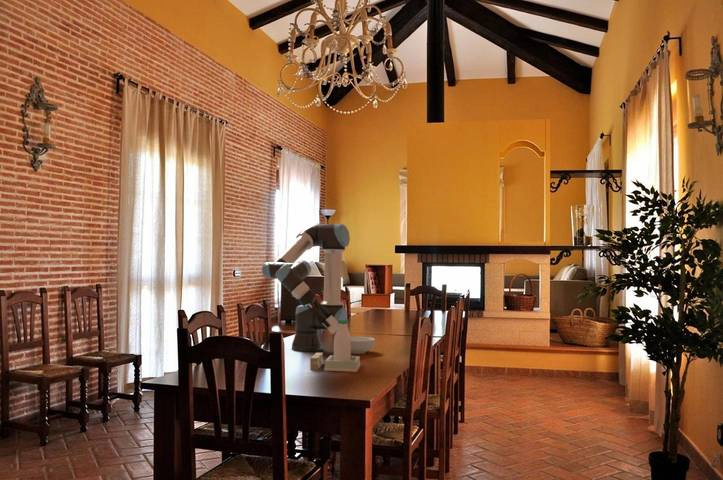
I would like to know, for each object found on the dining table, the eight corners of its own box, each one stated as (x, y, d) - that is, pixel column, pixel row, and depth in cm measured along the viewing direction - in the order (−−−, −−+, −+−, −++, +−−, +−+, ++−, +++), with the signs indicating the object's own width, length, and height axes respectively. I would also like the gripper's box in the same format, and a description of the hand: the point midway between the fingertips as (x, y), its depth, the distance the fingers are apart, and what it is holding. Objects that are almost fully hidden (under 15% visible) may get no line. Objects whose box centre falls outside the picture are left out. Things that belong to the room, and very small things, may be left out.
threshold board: (316, 363, 270) (316, 352, 270) (322, 363, 270) (323, 352, 270) (310, 369, 256) (310, 358, 256) (317, 370, 256) (317, 358, 256)
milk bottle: (349, 367, 257) (349, 320, 257) (331, 366, 259) (332, 320, 259) (352, 364, 265) (353, 318, 265) (335, 363, 266) (336, 318, 267)
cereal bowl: (375, 350, 309) (376, 336, 309) (373, 356, 292) (373, 341, 292) (343, 349, 310) (343, 335, 310) (338, 354, 294) (338, 340, 294)
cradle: (329, 364, 269) (329, 355, 269) (360, 365, 268) (360, 356, 268) (324, 370, 255) (324, 360, 255) (356, 371, 254) (356, 362, 254)
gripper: (303, 297, 276) (334, 331, 274) (291, 303, 251) (326, 340, 249) (314, 286, 275) (346, 320, 274) (304, 290, 250) (339, 328, 249)
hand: (337, 329), depth 261 cm, fingers open, 13 cm apart
